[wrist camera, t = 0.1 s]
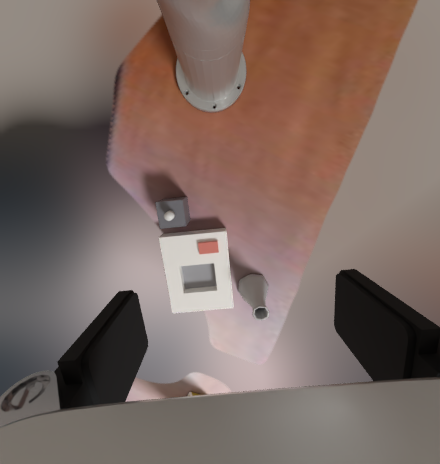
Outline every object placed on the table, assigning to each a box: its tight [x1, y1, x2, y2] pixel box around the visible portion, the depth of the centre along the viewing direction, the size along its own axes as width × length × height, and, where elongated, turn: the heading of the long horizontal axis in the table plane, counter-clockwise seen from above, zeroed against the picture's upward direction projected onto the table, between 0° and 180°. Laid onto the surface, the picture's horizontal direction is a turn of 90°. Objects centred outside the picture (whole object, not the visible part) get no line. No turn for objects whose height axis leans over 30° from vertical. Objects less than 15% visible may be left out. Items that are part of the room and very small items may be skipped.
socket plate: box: [159, 228, 234, 313], centre depth 47 cm, size 18×14×4 cm
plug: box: [155, 197, 190, 229], centre depth 42 cm, size 5×5×8 cm
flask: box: [238, 274, 269, 320], centre depth 46 cm, size 7×7×10 cm
